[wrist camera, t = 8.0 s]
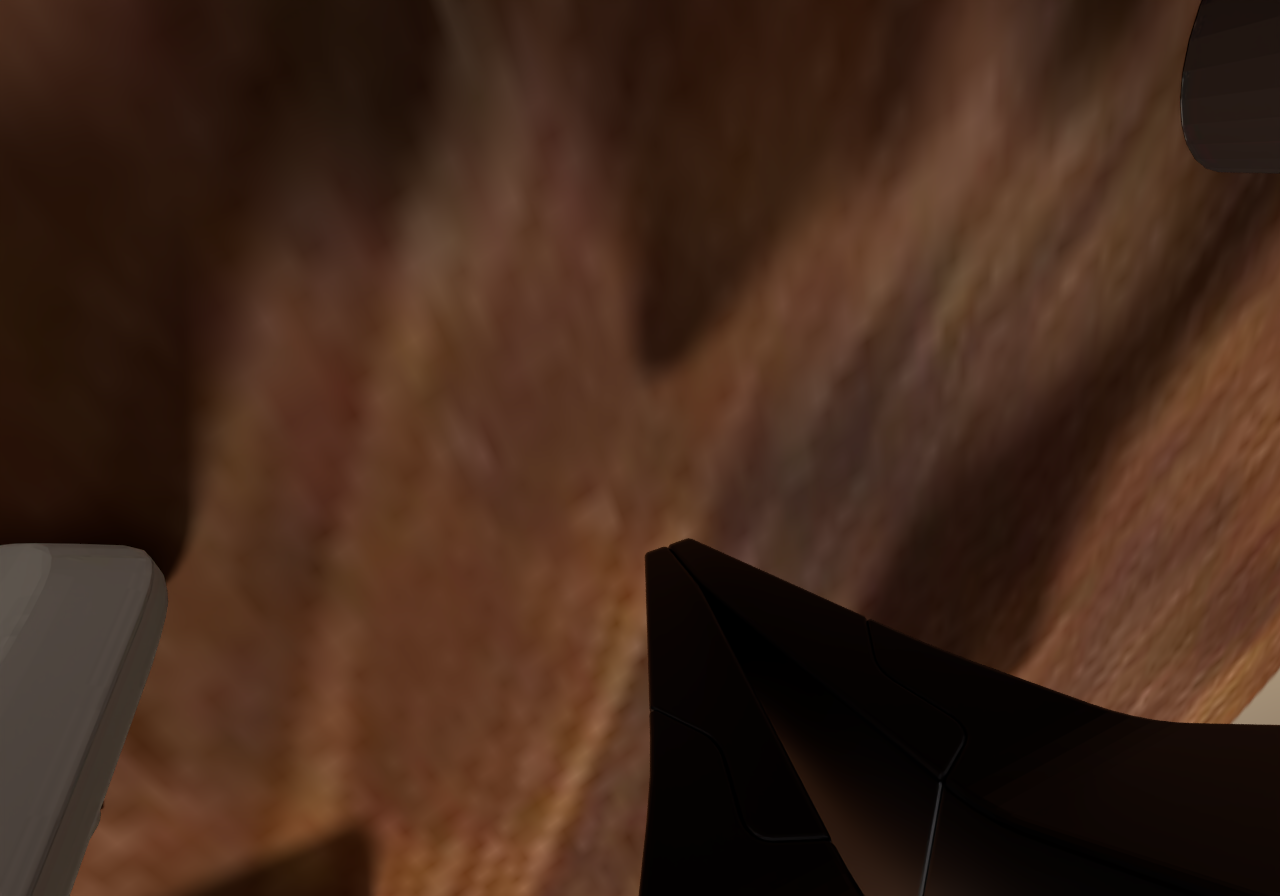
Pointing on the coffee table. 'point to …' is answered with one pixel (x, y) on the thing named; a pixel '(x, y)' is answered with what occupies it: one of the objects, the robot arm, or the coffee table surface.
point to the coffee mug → (1234, 86)
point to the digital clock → (67, 697)
